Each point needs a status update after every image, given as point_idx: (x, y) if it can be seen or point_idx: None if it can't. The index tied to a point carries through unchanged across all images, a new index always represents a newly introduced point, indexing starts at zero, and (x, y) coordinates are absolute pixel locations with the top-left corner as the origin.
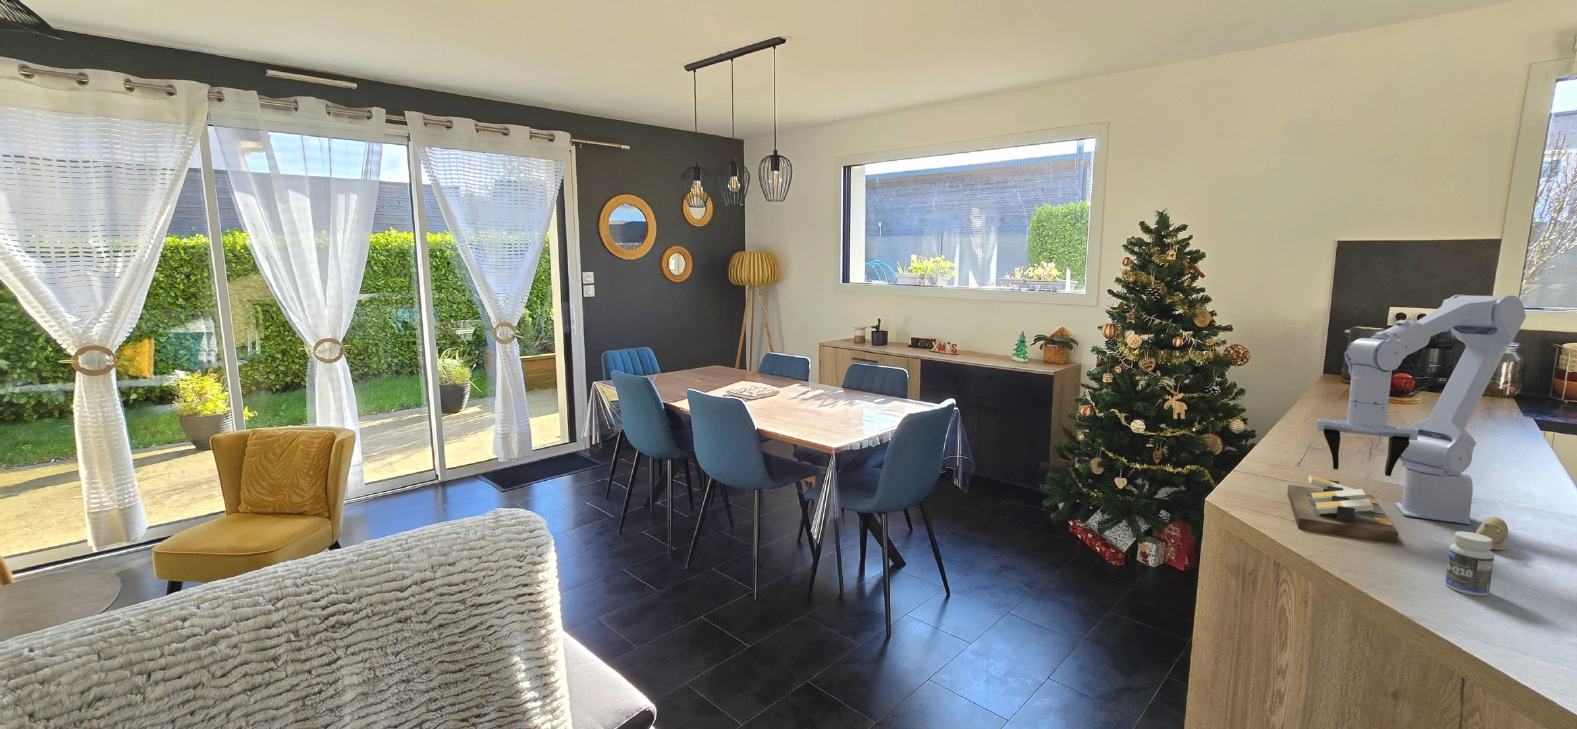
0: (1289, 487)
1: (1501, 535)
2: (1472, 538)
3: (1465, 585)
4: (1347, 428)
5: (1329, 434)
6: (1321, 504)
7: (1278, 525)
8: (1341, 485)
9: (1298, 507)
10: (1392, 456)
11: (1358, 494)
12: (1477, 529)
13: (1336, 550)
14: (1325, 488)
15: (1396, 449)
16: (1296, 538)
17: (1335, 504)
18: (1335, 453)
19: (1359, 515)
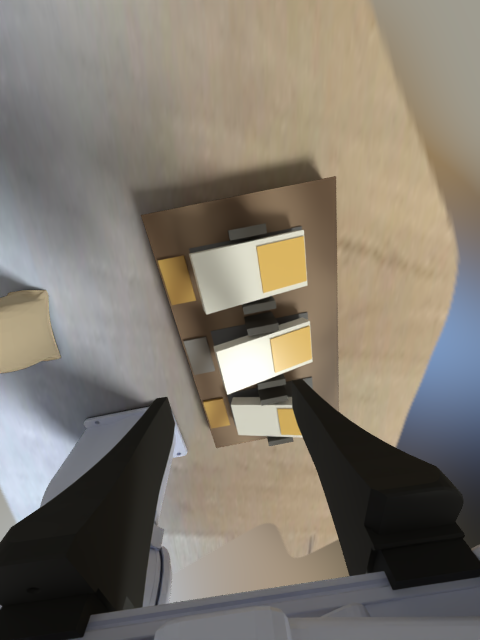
0: (338, 409)
1: None
2: None
3: None
4: (380, 620)
5: (432, 513)
6: (297, 263)
7: (360, 175)
8: (263, 432)
9: (331, 276)
10: (123, 457)
11: (230, 352)
12: (36, 349)
13: (246, 25)
14: (289, 397)
15: (85, 494)
16: (330, 75)
17: (270, 261)
18: (328, 415)
19: None
